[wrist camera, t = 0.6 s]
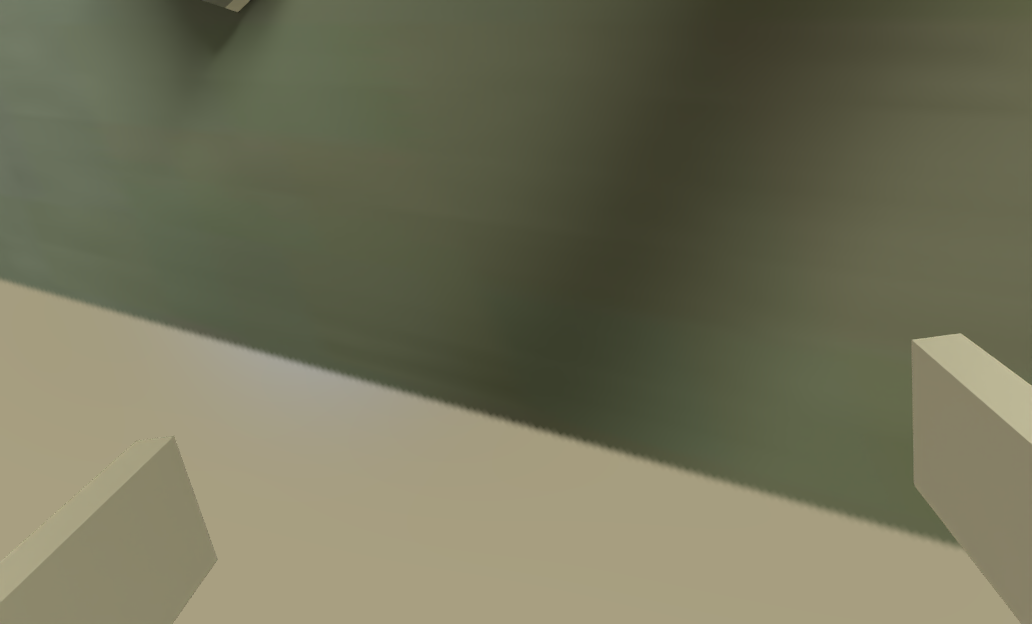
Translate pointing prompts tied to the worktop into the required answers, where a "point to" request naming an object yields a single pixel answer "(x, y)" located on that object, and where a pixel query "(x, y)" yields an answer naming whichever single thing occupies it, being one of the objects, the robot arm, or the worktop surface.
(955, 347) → the robot arm
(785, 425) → the worktop surface
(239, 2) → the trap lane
